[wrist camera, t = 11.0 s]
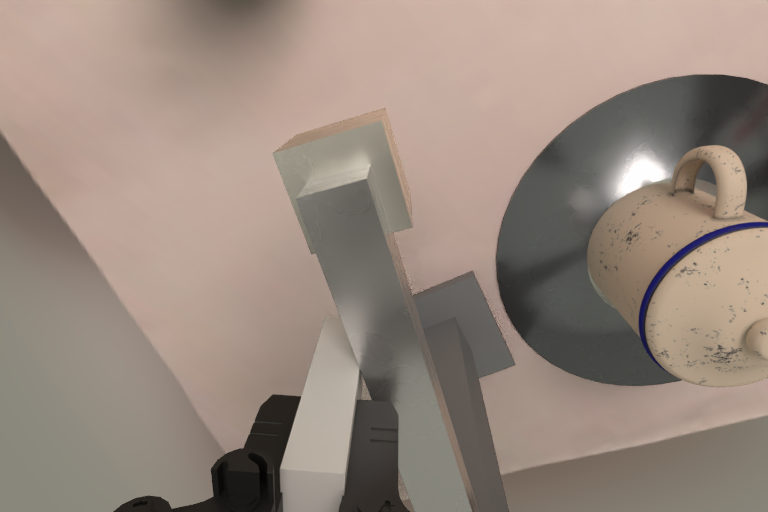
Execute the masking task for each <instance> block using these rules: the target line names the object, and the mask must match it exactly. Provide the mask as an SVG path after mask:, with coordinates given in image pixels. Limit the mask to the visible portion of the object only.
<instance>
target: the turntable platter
mask: <svg viewBox="0 0 768 512" xmlns="http://www.w3.org/2000/svg"><path fill="white" fill-rule="evenodd" d="M710 145H719V146H724V147H727V148H729V149H731V150H732V151H733V152H735V153H736V154H737V156H738V157H739V158H740V160H741V162H742V164H743V167H744V170H745V173H746V179H747V194H746V201H745V206H744V210H745V211H747V212H749V213H751V214H753V215H755V216H757V217H760V218H762V219H764V220H766V221H768V85H767V84H764V83H760V82H757V81H754V80H751V79H747V78H741V77H734V76H727V75H688V76H680V77H673V78H667V79H663V80H659V81H655V82H652V83H648V84H644V85H641V86H639V87H636V88H633V89H631V90H628V91H626V92H623V93H621V94H618V95H616V96H614V97H613V98H611V99H609V100H607V101H605V102H603V103H601V104H600V105H598V106H596V107H594V108H593V109H591V110H590V111H588V112H587V113H585V114H584V115H582V116H581V117H580V118H578V119H577V120H575V121H574V122H572V123H571V124H570V125H569V126H568V127H567V128H566V129H564V130H563V131H562V132H561V133H560V134H559V135H558V136H556V137H555V138H554V139H553V140H552V141H551V142H550V143H549V144H548V146H547V147H546V148H545V149H544V150H543V151H542V152H541V153H540V154H539V155H538V157H537V158H536V159H535V160H534V162H533V163H532V165H531V166H530V167H529V169H528V170H527V172H526V173H525V174H524V176H523V177H522V179H521V181H520V183H519V185H518V186H517V188H516V190H515V192H514V194H513V196H512V197H511V200H510V202H509V205H508V208H507V210H506V213H505V215H504V218H503V222H502V226H501V230H500V234H499V238H498V248H497V258H496V259H497V278H498V283H499V288H500V293H501V297H502V300H503V302H504V305H505V308H506V311H507V313H508V315H509V317H510V319H511V320H512V322H513V324H514V326H515V328H516V329H517V330H518V332H519V333H520V334H521V336H522V337H523V338H524V340H525V341H526V342H527V343H528V344H529V345H530V346H531V347H532V348H533V349H534V350H535V351H536V352H537V353H538V354H540V355H541V356H542V357H544V358H545V359H546V360H548V361H549V362H551V363H552V364H554V365H556V366H557V367H559V368H561V369H563V370H565V371H567V372H569V373H571V374H574V375H577V376H579V377H582V378H585V379H589V380H593V381H597V382H601V383H607V384H614V385H626V386H645V385H657V384H664V383H670V382H676V381H681V380H682V379H679V378H677V377H675V376H673V375H671V374H670V373H668V372H666V371H665V370H663V369H662V368H660V367H659V366H658V365H657V364H656V363H655V362H654V361H653V360H652V359H651V358H650V356H649V355H648V353H647V352H646V350H645V348H644V346H643V344H642V341H641V338H640V337H639V336H638V334H637V333H636V332H635V331H634V330H633V328H632V327H631V326H630V325H629V324H628V322H627V321H626V320H625V319H624V318H623V316H622V315H621V314H620V313H619V312H618V310H617V309H616V308H615V307H614V306H613V304H612V303H611V302H610V301H609V300H608V298H607V297H606V296H605V295H604V294H603V292H602V291H601V290H600V289H599V288H598V286H597V285H596V284H595V282H594V280H593V279H592V277H591V274H590V272H589V268H588V263H587V250H588V244H589V240H590V237H591V234H592V232H593V229H594V228H595V226H596V224H597V222H598V221H599V219H600V218H601V217H602V215H603V214H604V213H605V212H606V211H607V210H608V209H609V208H610V207H611V206H612V205H613V204H614V203H615V202H617V201H618V200H619V199H621V198H622V197H624V196H625V195H627V194H629V193H631V192H633V191H635V190H637V189H640V188H643V187H645V186H649V185H653V184H659V183H671V181H672V177H673V173H674V170H675V168H676V165H677V164H678V162H679V160H680V159H681V158H682V157H683V156H684V155H685V154H686V153H687V152H689V151H691V150H692V149H695V148H698V147H702V146H710ZM695 188H697V189H700V190H702V191H704V192H706V193H708V194H710V195H712V196H715V197H716V193H717V186H716V179H715V175H714V172H713V170H712V168H711V166H710V165H709V164H708V163H705V164H704V165H703V166H702V167H701V169H700V171H699V173H698V176H697V180H696V184H695Z"/></svg>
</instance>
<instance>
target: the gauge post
mask: <svg viewBox="0 0 768 512" xmlns="http://www.w3.org/2000/svg"><path fill="white" fill-rule="evenodd" d="M413 299H414V302H415V305H416V308H417V312H418V315H419V318H420V321H421V325H422V328H423V331H424V334H425V338H426V341H427V344H428V347H429V351H430V354H431V357H432V360H433V364H434V367H435V370H436V373H437V376H438V380H439V383H440V386H441V389H442V393H443V396H444V399H445V402H446V406H447V409H448V412H449V415H450V419H451V422H452V425H453V428H454V432H455V435H456V438H457V441H458V445H459V448H460V451H461V454H462V457H463V461H464V464H465V467H466V470H467V474H468V477H469V480H470V483H471V487H472V490H473V493H474V496H475V500H476V503H477V506H478V509H479V512H509V510H508V505H507V501H506V496H505V492H504V488H503V483H502V480H501V475H500V470H499V466H498V462H497V457H496V453H495V449H494V444H493V440H492V435H491V431H490V427H489V422H488V418H487V414H486V409H485V405H484V401H483V396H482V392H481V387H480V383H479V379H478V378H481V377H483V376H486V375H489V374H492V373H494V372H497V371H500V370H503V369H505V368H508V367H511V366H514V365H515V363H514V360H513V357H512V355H511V353H510V351H509V349H508V347H507V345H506V342H505V340H504V338H503V336H502V334H501V332H500V329H499V327H498V325H497V323H496V321H495V319H494V316H493V314H492V312H491V310H490V308H489V306H488V303H487V301H486V299H485V297H484V295H483V293H482V290H481V288H480V286H479V284H478V282H477V280H476V277H475V275H474V273H473V271H471V272H468V273H466V274H464V275H461V276H459V277H456V278H454V279H452V280H449V281H447V282H444V283H442V284H439V285H437V286H435V287H432V288H430V289H427V290H425V291H423V292H420V293H418V294H415V295H413Z"/></svg>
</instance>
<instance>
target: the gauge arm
mask: <svg viewBox="0 0 768 512" xmlns="http://www.w3.org/2000/svg"><path fill="white" fill-rule="evenodd" d="M273 156H274V158H275V161H276V164H277V166H278V169H279V171H280V174H281V177H282V179H283V182H284V184H285V187H286V190H287V192H288V195H289V197H290V200H291V202H292V205H293V208H294V210H295V213H296V215H297V218H298V221H299V223H300V226H301V228H302V231H303V234H304V236H305V239H306V241H307V244H308V246H309V249H310V252H311V254H314V253H316V254H317V257H318V260H319V262H320V265H321V267H322V270H323V273H324V275H325V278H326V281H327V283H328V286H329V288H330V291H331V294H332V296H333V299H334V301H335V304H336V307H337V309H338V312H339V315H340V317H341V320H342V322H343V325H344V328H345V330H346V333H347V336H348V338H349V341H350V343H351V346H352V349H353V351H354V354H355V356H356V359H357V362H358V364H359V367H360V370H361V372H362V375H363V377H364V380H365V383H366V385H367V388H368V391H369V393H370V396H371V398H372V401H384V402H392V404H393V406H394V408H395V409H396V411H397V413H398V415H399V429H398V469H399V472H400V474H401V477H402V480H403V482H404V485H405V487H406V490H407V493H408V495H409V498H410V500H411V503H412V506H413V508H414V511H415V512H479V509H478V506H477V503H476V500H475V496H474V493H473V490H472V487H471V483H470V480H469V477H468V474H467V470H466V467H465V464H464V461H463V457H462V454H461V451H460V448H459V445H458V441H457V438H456V435H455V432H454V428H453V425H452V422H451V419H450V415H449V412H448V409H447V406H446V402H445V399H444V396H443V393H442V389H441V386H440V383H439V380H438V376H437V373H436V370H435V367H434V364H433V360H432V357H431V354H430V351H429V347H428V344H427V341H426V338H425V334H424V331H423V328H422V325H421V321H420V318H419V315H418V312H417V308H416V305H415V302H414V299H413V296H412V292H411V289H410V286H409V283H408V279H407V276H406V273H405V270H404V266H403V263H402V260H401V257H400V253H399V250H398V247H397V244H396V240H395V237H394V234H393V232H397V231H401V230H404V229H408V228H412V208H411V195H410V192H409V188H408V185H407V181H406V178H405V174H404V171H403V167H402V164H401V160H400V157H399V153H398V150H397V146H396V143H395V139H394V136H393V132H392V129H391V125H390V122H389V118H388V115H387V111H386V108H382V109H379V110H376V111H373V112H369V113H366V114H363V115H360V116H356V117H353V118H350V119H347V120H343V121H340V122H337V123H334V124H330V125H327V126H324V127H321V128H317V129H314V130H311V131H308V132H304V133H301V134H298V135H295V136H294V137H293V138H292V139H290V140H289V141H288V142H287V143H285V144H284V145H283V146H281V147H280V148H279V149H278V150H276V151H275V152H274V153H273Z"/></svg>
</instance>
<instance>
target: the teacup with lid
mask: <svg viewBox="0 0 768 512" xmlns="http://www.w3.org/2000/svg"><path fill="white" fill-rule="evenodd" d="M705 163H708V164H709V165H710V166H711V168H712V170H713V172H714V175H715V179H716V186H717V193H716V197H715V196H712V195H710V194H708V193H706V192H704V191H702V190H700V189H697V188H695V184H696V180H697V176H698V173H699V171H700V169H701V167H702V166H703V165H704V164H705ZM746 194H747V179H746V173H745V170H744V167H743V164H742V162H741V160H740V158H739V157H738V156H737V154H736V153H735V152H733V151H732V150H731V149H729V148H727V147H724V146H719V145H710V146H702V147H698V148H695V149H692V150H691V151H689V152H687V153H686V154H685V155H684V156H683V157H682V158H681V159H680V160H679V162H678V164H677V165H676V168H675V170H674V173H673V177H672V181H671V183H659V184H653V185H649V186H645V187H643V188H640V189H637V190H635V191H633V192H631V193H629V194H627V195H625V196H624V197H622V198H621V199H619V200H618V201H617V202H615V203H614V204H613V205H612V206H611V207H610V208H609V209H608V210H607V211H606V212H605V213H604V214H603V215H602V217H601V218H600V219H599V221H598V222H597V224H596V226H595V228H594V229H593V232H592V234H591V237H590V240H589V244H588V250H587V263H588V268H589V272H590V274H591V277H592V279H593V280H594V282H595V284H596V285H597V286H598V288H599V289H600V290H601V291H602V292H603V294H604V295H605V296H606V297H607V298H608V300H609V301H610V302H611V303H612V304H613V306H614V307H615V308H616V309H617V310H618V312H619V313H620V314H621V315H622V316H623V318H624V319H625V320H626V321H627V322H628V324H629V325H630V326H631V327H632V328H633V330H634V331H635V332H636V333H637V334H638V336H639V337H640V338H641V341H642V344H643V346H644V348H645V350H646V352H647V353H648V355H649V356H650V358H651V359H652V360H653V361H654V362H655V363H656V364H657V365H658V366H659V367H660V368H662V369H663V370H665V371H666V372H668V373H670V374H671V375H673V376H675V377H677V378H679V379H682V380H684V381H686V382H690V383H693V384H697V385H702V386H709V387H733V386H740V385H746V384H750V383H754V382H757V381H760V380H763V379H766V378H768V221H766V220H764V219H762V218H760V217H757V216H755V215H753V214H751V213H749V212H747V211H745V210H744V206H745V201H746Z"/></svg>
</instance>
